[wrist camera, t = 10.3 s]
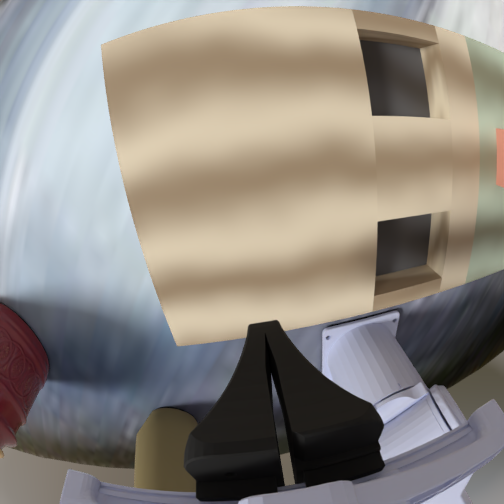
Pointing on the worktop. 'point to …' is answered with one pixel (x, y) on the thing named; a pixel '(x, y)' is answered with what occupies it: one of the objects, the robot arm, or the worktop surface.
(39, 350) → the canister
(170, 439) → the squeeze bottle
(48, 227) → the worktop surface
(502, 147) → the block
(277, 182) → the board
